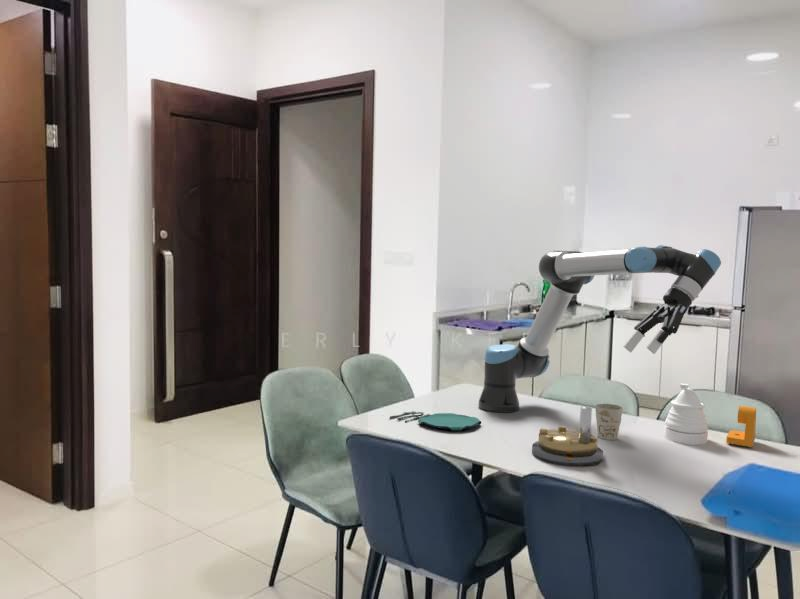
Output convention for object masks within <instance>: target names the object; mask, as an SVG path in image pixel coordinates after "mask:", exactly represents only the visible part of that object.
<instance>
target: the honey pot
mask: <svg viewBox="0 0 800 599" xmlns="http://www.w3.org/2000/svg"><path fill="white" fill-rule="evenodd" d="M679 386H680V389H681V391H680V392H679V393H678V395H676V398H675V399H673V400H671V402H670V405H671V408H670V409H669V411H668V414H667V417H666V419H665V420H664V431H663V437H664V438H665V439H666V440H669V441H671V442H673V441H674V442H673V443H677V442H679V443H678V444H683V443H685V445H692V444H700V445H705V444H707V443H708V433H709V430H708V428H709V425H708V423H707V419H706V414H705V412H704V408H705V407H706V406H705V404H704V403H702V402H701V401H700V398H699V396H698V395H697V392H695V390H694V389H692V388H690V387H689V386H690V385H689V383H679Z"/></svg>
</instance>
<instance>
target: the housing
mask: <svg viewBox="0 0 800 599" xmlns="http://www.w3.org/2000/svg"><path fill="white" fill-rule="evenodd" d="M531 454H532V456H533V457H535V458H536V459H538V460H540V461H543V462H546V463H548V464H553V465H557V466H564V467H565V466H566V467H579V468H580V467H581V468H582V467H583V468H584V467H593V466H597V465H599V464H601V463H603V461H604V450H603V449H602V448H600V447H599V446H598V447H597V452H596V453H594V454H591V455H585V456H570V455H561V454H556V453H552V452H548V451H546V450H543V449H542V448H540V447H539V445H538V440H537V441H535V442H534V443H532V446H531Z"/></svg>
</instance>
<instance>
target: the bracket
mask: <svg viewBox="0 0 800 599" xmlns="http://www.w3.org/2000/svg"><path fill="white" fill-rule="evenodd" d="M737 410H738V411H737V423H738V424H744V425H745V428H744V429H745V430H744V431H742V430H733V429H731V430H729V431H728V433H727V435H726V440H725V441H726V442H725V443H726V444H728V443H731V444H730V445H734V444H737V445H736V446H740V445H743V446H742V447H746V446H749V447H748V448H753V447H754V445H753V444H755V440H756V424H757V423H756V422H757V420H756V419H757V408H756V407H751V406H744V405H739V406H738V409H737ZM752 446H753V447H752Z"/></svg>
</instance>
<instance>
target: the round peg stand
mask: <svg viewBox="0 0 800 599" xmlns="http://www.w3.org/2000/svg"><path fill="white" fill-rule="evenodd" d="M592 411H593V407H590V406H580V416H579V430H574V429H573V430H572V429H567V427H566V425H565V426H562V425H558V426H557V428H556V429H555V428H552V429H548V428H542V427H541V428H540V429H539V433H538V440H537V441H538V445H539V447H540V448H542V449H543V450H546V451H548V452H552V453H556V454H561V455H570V456H585V455H591V454H594V453H596V452H597V447H599V446H598V445H599V444H598V443H599V439H598V438H599V437H598V436H597V437H596V436H595V435H593V434H592V430H591V429H592V428H591V427H592V414H593V413H592Z"/></svg>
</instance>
